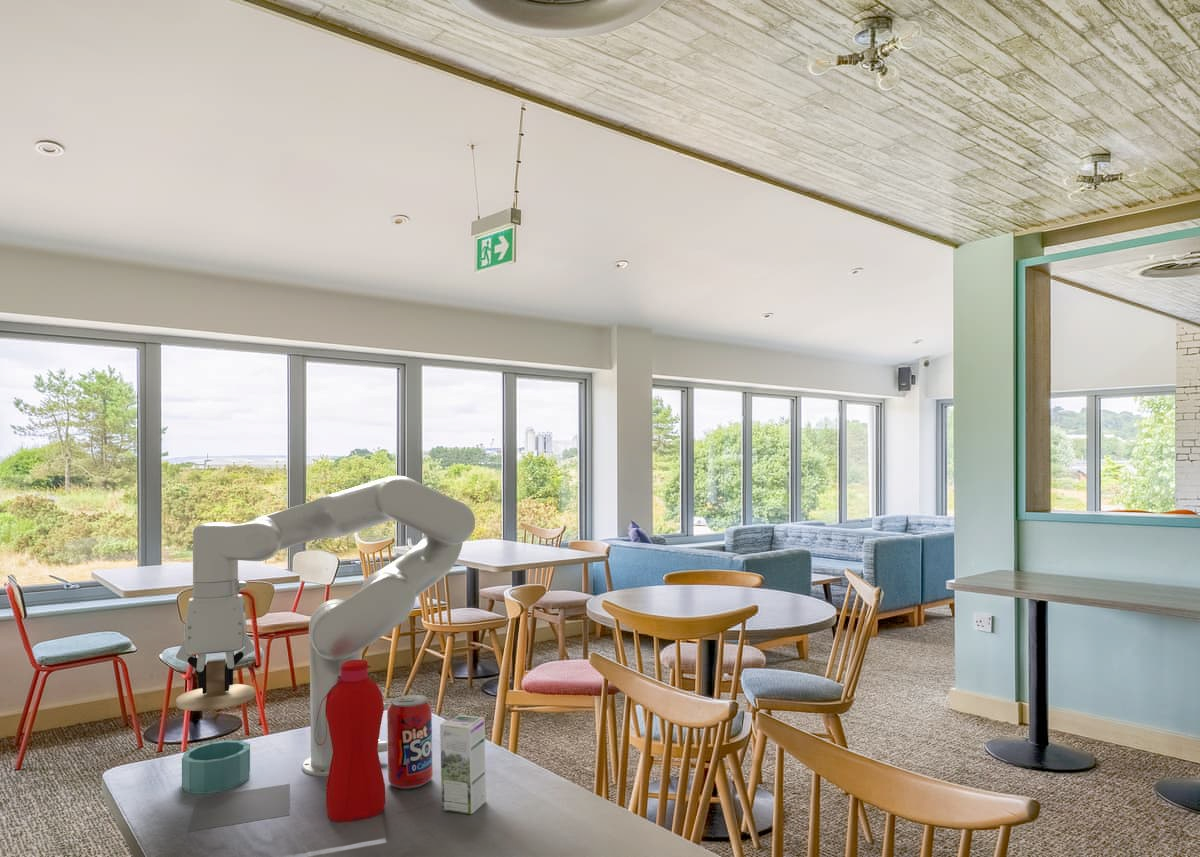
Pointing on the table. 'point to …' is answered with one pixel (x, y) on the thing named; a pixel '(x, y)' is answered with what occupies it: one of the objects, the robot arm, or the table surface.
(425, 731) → the soda can
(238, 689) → the lid
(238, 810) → the mat
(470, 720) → the syrup box
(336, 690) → the water bottle
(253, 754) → the table surface
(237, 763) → the bowl
